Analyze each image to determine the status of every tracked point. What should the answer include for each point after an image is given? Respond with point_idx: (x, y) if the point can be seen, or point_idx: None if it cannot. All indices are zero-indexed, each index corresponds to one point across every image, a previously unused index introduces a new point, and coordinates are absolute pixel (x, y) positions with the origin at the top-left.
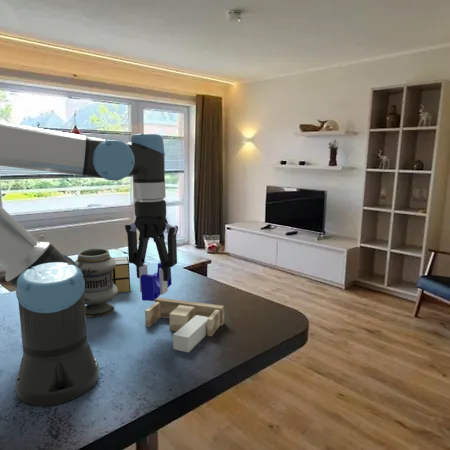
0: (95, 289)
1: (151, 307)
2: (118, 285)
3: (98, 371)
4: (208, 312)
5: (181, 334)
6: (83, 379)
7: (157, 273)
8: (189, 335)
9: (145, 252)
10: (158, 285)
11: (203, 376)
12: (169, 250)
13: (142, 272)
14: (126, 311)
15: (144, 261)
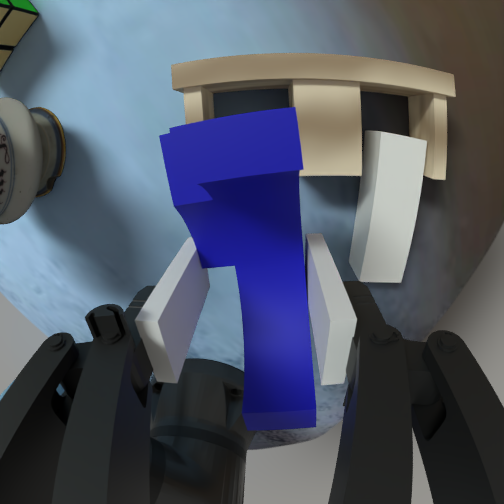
0: (1, 206)
1: None
2: (5, 38)
3: None
4: (403, 90)
5: (380, 274)
6: None
7: (210, 192)
8: (401, 271)
9: (120, 424)
10: (270, 251)
11: (426, 322)
12: (446, 494)
13: (184, 352)
14: (92, 112)
15: (114, 318)
